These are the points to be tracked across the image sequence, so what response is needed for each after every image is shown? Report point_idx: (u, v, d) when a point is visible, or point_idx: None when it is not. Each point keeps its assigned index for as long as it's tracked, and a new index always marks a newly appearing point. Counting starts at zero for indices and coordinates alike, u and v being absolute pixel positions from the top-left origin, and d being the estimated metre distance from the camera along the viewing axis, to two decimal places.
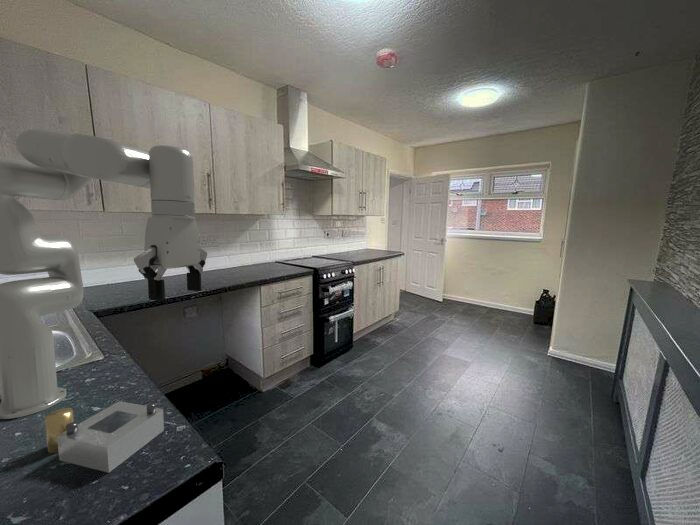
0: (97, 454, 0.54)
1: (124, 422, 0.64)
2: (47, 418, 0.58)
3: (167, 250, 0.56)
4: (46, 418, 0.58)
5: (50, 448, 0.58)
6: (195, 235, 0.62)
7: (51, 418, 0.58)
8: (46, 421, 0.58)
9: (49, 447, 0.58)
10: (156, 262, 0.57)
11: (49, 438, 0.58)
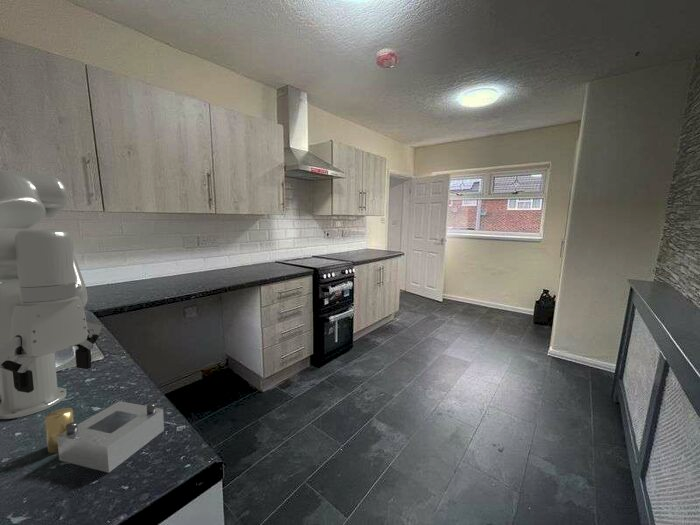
0: (97, 454, 0.54)
1: (124, 422, 0.64)
2: (47, 418, 0.58)
3: (34, 339, 0.53)
4: (46, 418, 0.58)
5: (50, 448, 0.58)
6: (78, 314, 0.60)
7: (51, 418, 0.58)
8: (46, 421, 0.58)
9: (49, 447, 0.58)
10: None
11: (49, 438, 0.58)
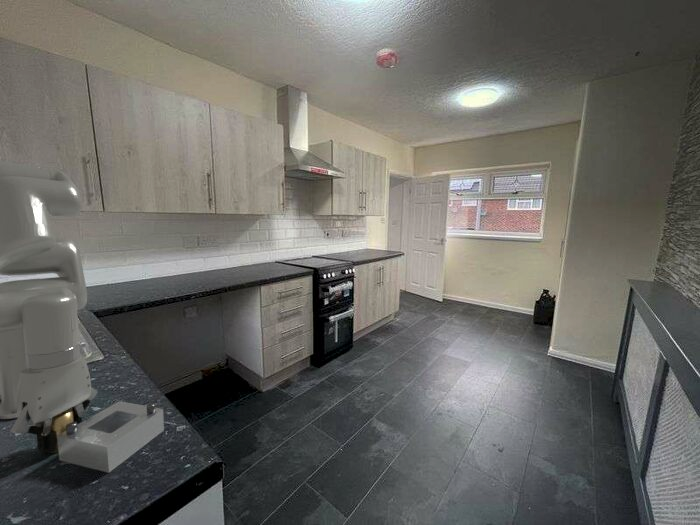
0: (97, 454, 0.54)
1: (124, 422, 0.64)
2: None
3: (39, 405, 0.54)
4: None
5: None
6: (82, 373, 0.61)
7: None
8: None
9: None
10: None
11: None
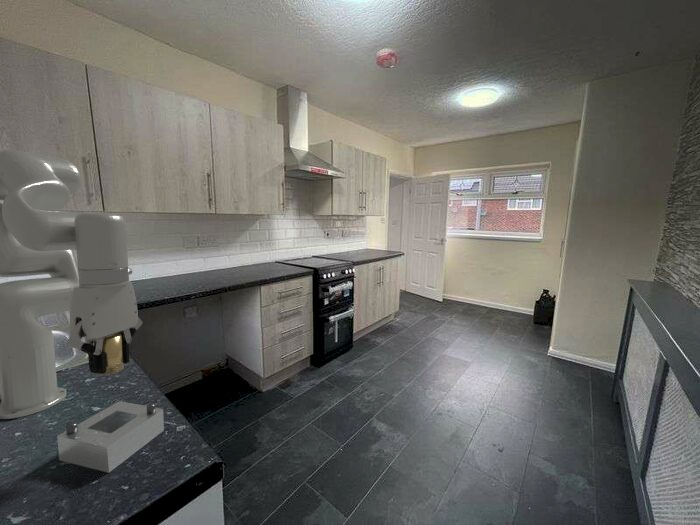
0: (97, 454, 0.54)
1: (124, 422, 0.64)
2: None
3: (93, 321, 0.53)
4: None
5: None
6: (130, 298, 0.60)
7: None
8: None
9: None
10: None
11: None
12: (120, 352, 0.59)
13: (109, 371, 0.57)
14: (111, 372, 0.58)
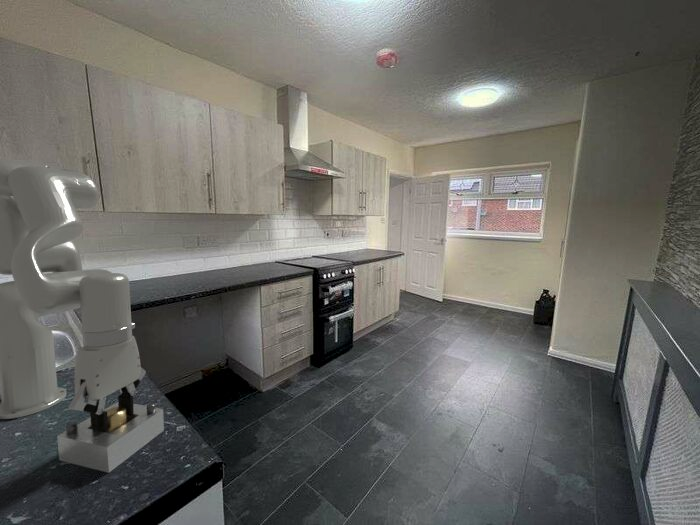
0: (97, 454, 0.54)
1: None
2: None
3: (97, 383, 0.55)
4: None
5: None
6: (133, 353, 0.61)
7: None
8: None
9: None
10: None
11: None
12: None
13: None
14: None
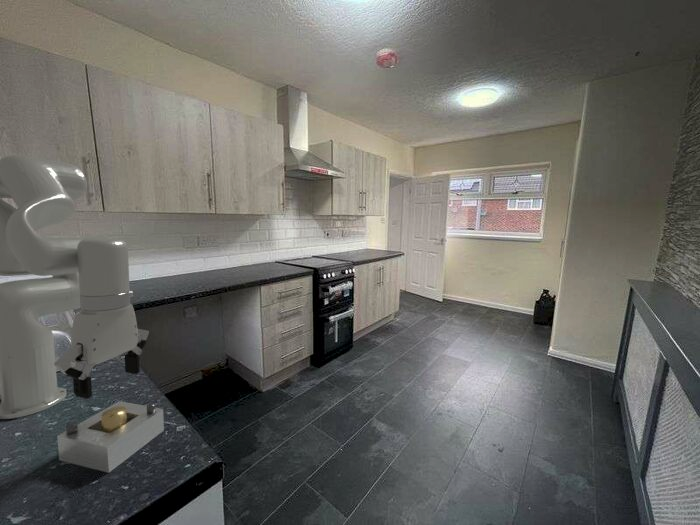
0: (97, 454, 0.54)
1: None
2: (103, 417, 0.58)
3: (94, 347, 0.54)
4: (102, 417, 0.58)
5: None
6: (131, 321, 0.61)
7: (107, 417, 0.58)
8: (103, 420, 0.58)
9: None
10: (84, 357, 0.56)
11: None
12: None
13: None
14: None
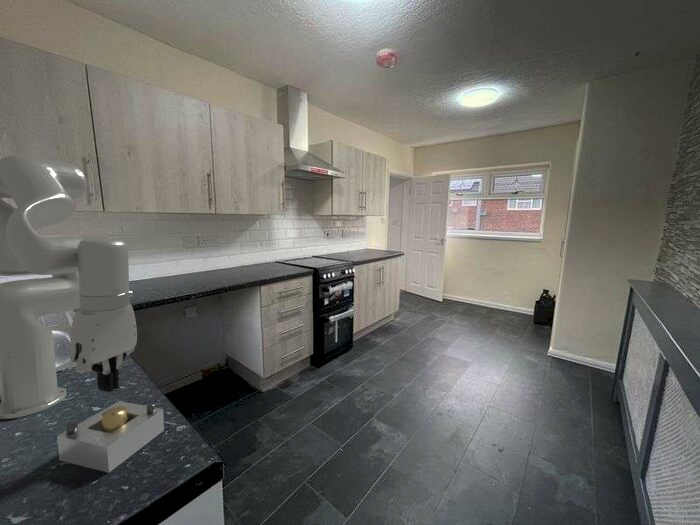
0: (97, 454, 0.54)
1: None
2: (104, 416, 0.59)
3: (93, 347, 0.54)
4: (103, 416, 0.59)
5: None
6: (130, 321, 0.61)
7: (108, 416, 0.59)
8: (103, 419, 0.58)
9: None
10: None
11: None
12: None
13: None
14: None
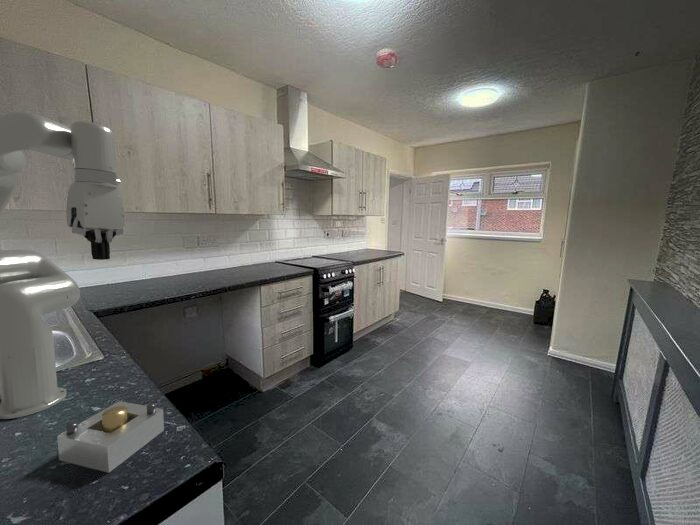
0: (97, 454, 0.54)
1: None
2: (105, 416, 0.59)
3: (86, 212, 0.64)
4: (104, 416, 0.59)
5: None
6: (118, 202, 0.71)
7: (109, 416, 0.59)
8: (104, 419, 0.58)
9: None
10: None
11: None
12: None
13: None
14: None
